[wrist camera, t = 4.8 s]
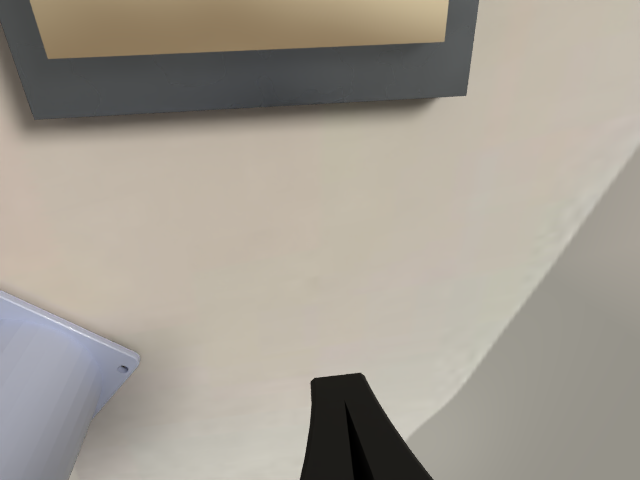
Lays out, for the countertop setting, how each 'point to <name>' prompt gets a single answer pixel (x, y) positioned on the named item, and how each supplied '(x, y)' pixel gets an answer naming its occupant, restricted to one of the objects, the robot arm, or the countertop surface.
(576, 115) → the countertop surface
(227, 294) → the countertop surface
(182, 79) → the base
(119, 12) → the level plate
